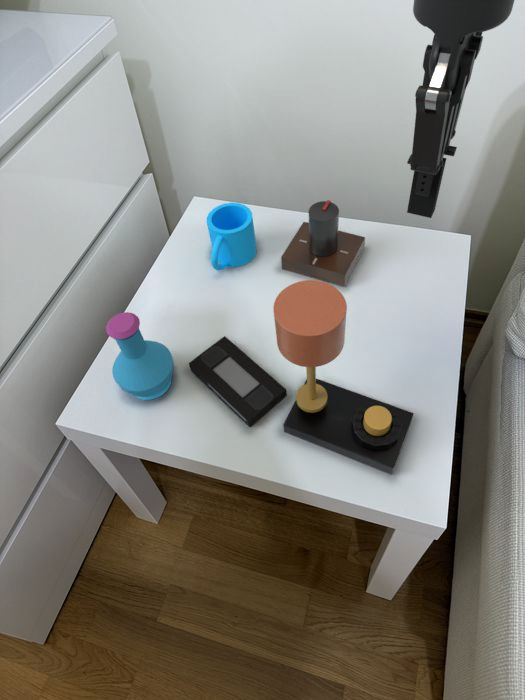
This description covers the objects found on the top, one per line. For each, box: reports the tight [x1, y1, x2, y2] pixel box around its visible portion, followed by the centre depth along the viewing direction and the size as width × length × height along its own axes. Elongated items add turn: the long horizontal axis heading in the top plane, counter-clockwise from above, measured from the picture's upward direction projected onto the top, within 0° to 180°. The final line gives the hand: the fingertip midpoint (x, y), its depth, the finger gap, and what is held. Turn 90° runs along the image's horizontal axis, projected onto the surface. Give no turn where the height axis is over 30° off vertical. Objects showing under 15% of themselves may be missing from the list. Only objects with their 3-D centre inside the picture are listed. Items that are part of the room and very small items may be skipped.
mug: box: [206, 202, 258, 272], centre depth 93 cm, size 12×8×8 cm
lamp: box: [273, 279, 348, 413], centre depth 65 cm, size 8×8×20 cm
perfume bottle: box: [105, 311, 174, 401], centre depth 76 cm, size 9×9×15 cm
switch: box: [363, 406, 392, 436], centre depth 69 cm, size 4×4×2 cm
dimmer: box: [308, 199, 340, 257], centre depth 88 cm, size 5×5×8 cm
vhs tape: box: [188, 335, 288, 428], centre depth 79 cm, size 8×14×2 cm, turn 42°
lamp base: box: [282, 378, 415, 476], centre depth 73 cm, size 16×9×4 cm, turn 64°
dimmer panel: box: [280, 221, 366, 288], centre depth 93 cm, size 12×10×3 cm
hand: (420, 211), depth 57 cm, fingers closed
